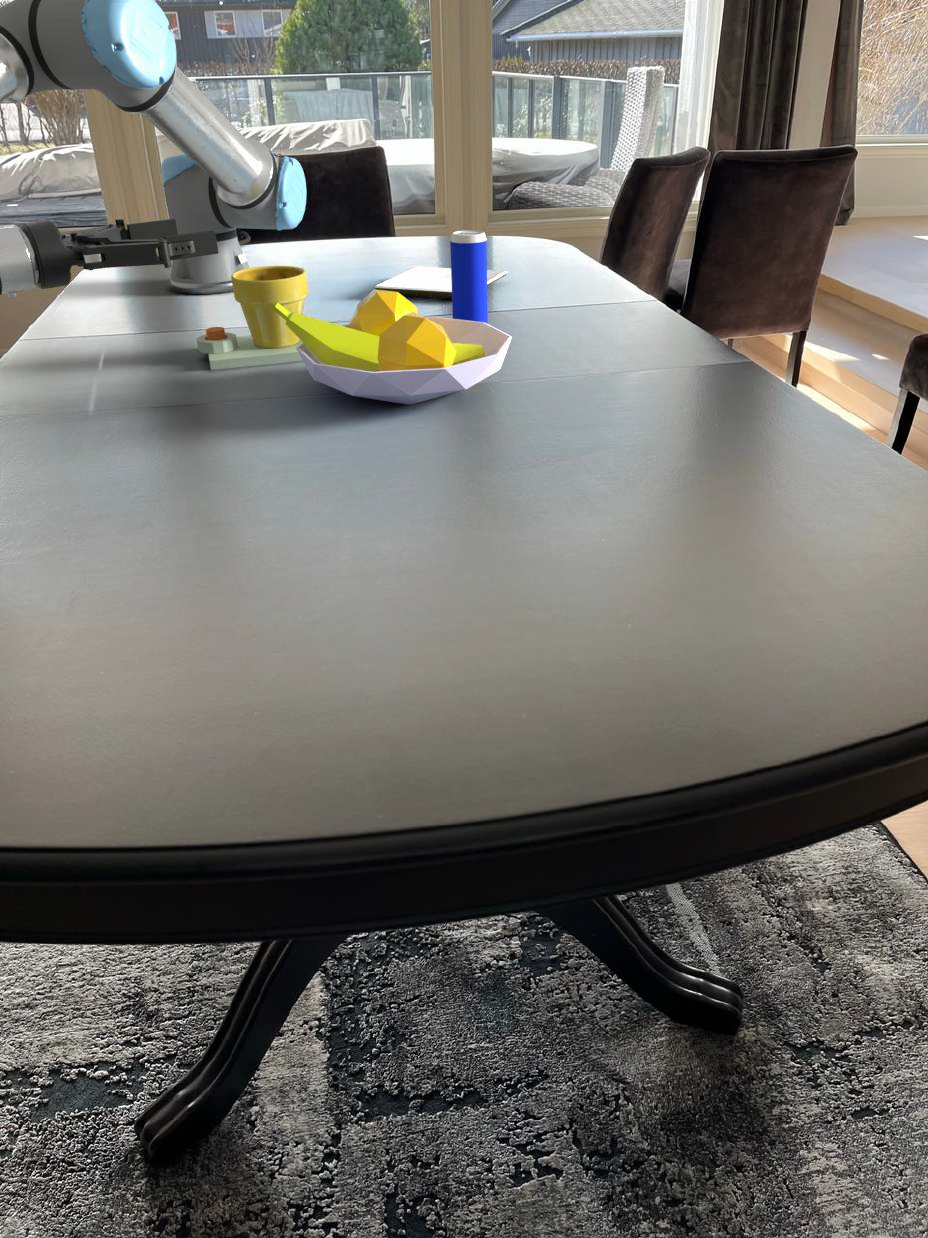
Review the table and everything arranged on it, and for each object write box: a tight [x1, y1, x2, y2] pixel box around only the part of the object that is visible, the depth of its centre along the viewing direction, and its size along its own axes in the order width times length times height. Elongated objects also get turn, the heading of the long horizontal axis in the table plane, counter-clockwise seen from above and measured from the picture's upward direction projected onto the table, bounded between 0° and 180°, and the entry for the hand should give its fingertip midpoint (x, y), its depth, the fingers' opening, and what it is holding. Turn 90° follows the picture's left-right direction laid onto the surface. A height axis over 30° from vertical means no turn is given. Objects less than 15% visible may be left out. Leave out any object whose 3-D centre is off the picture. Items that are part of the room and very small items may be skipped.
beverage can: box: [449, 229, 489, 324], centre depth 136 cm, size 5×5×15 cm
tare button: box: [205, 326, 226, 340], centre depth 134 cm, size 3×3×2 cm
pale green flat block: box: [196, 332, 304, 371], centre depth 136 cm, size 12×17×3 cm
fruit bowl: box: [273, 288, 513, 406], centre depth 118 cm, size 28×27×11 cm
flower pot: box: [231, 265, 309, 348], centre depth 134 cm, size 10×10×10 cm
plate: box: [373, 266, 509, 300], centre depth 171 cm, size 19×19×2 cm
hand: (195, 235), depth 124 cm, fingers open, 13 cm apart
